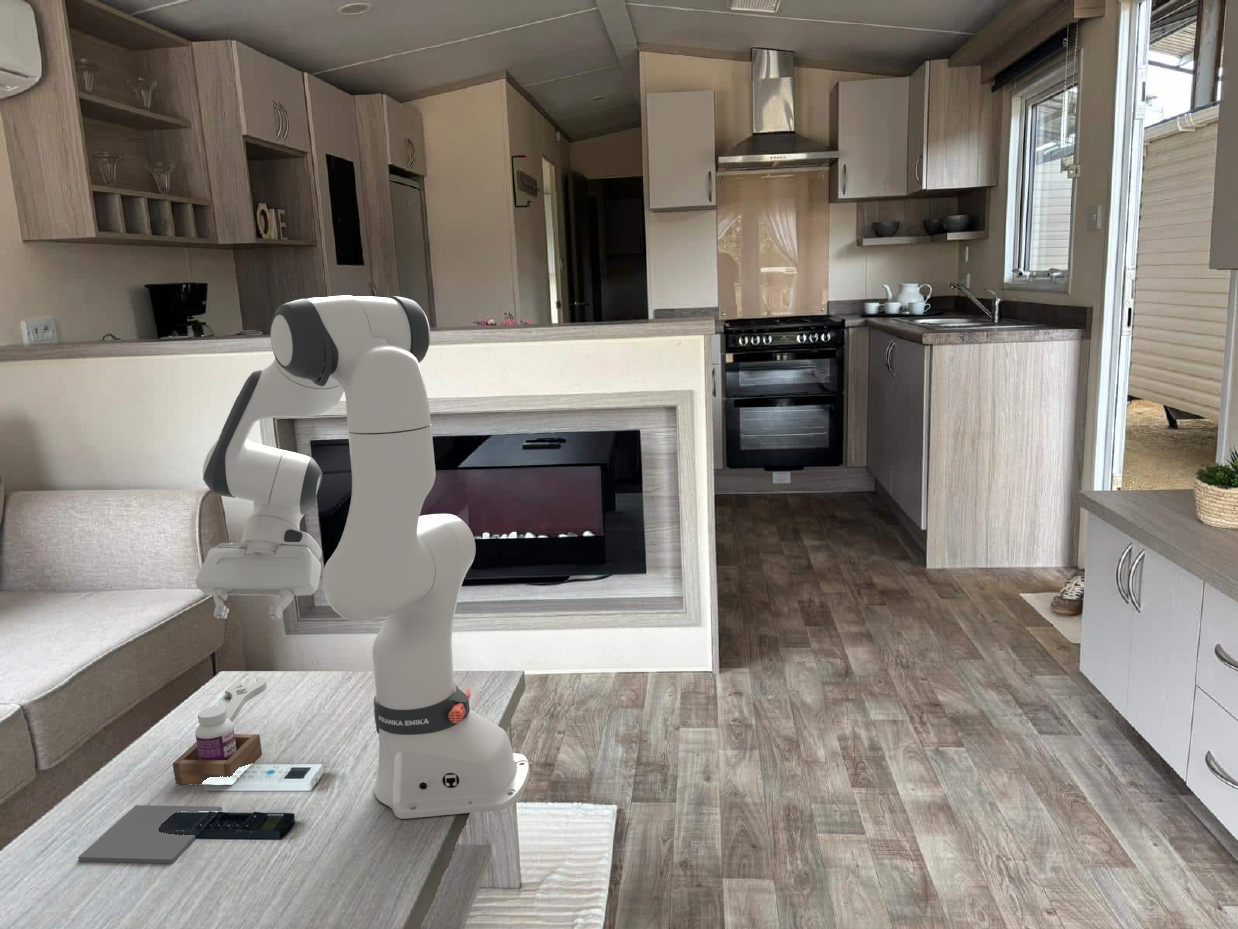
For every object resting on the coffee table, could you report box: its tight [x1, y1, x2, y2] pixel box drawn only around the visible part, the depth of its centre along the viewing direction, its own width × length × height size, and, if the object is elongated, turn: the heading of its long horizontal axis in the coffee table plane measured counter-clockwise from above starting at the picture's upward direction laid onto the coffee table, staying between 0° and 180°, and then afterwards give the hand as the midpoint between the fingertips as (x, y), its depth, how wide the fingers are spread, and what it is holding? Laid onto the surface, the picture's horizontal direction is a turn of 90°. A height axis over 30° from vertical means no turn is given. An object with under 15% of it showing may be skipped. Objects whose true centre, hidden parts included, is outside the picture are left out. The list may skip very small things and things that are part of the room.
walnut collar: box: [172, 733, 263, 786], centre depth 139 cm, size 9×9×4 cm
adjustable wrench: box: [224, 676, 268, 723], centre depth 158 cm, size 25×6×2 cm, turn 1°
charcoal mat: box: [77, 804, 223, 865], centre depth 123 cm, size 13×12×1 cm
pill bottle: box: [194, 705, 237, 760], centre depth 139 cm, size 5×5×10 cm
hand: (246, 617), depth 149 cm, fingers open, 8 cm apart
